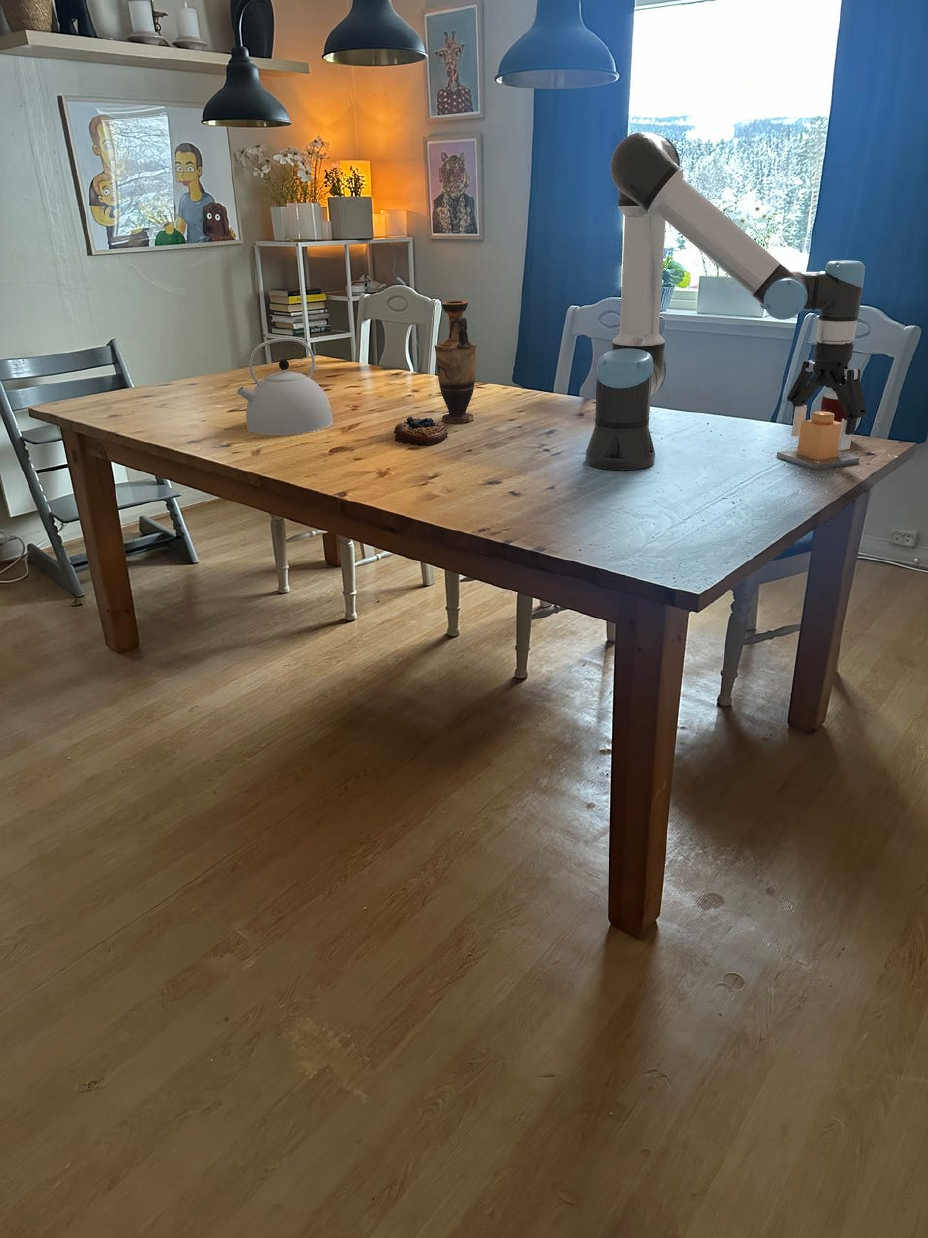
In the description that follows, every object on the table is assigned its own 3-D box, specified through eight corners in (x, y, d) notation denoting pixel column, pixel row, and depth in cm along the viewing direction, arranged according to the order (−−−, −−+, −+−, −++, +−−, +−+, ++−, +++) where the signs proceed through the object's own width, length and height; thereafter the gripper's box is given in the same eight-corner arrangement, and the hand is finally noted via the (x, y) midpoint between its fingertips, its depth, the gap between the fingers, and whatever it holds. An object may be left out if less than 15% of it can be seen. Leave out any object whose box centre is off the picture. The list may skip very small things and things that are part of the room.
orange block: (817, 459, 192) (823, 418, 188) (796, 453, 197) (802, 412, 193) (838, 456, 194) (844, 414, 190) (817, 449, 199) (823, 409, 195)
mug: (832, 446, 206) (839, 402, 202) (802, 439, 212) (808, 397, 208) (859, 438, 212) (866, 396, 207) (829, 432, 218) (836, 391, 213)
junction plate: (816, 470, 189) (820, 439, 186) (776, 457, 199) (780, 427, 196) (858, 463, 193) (863, 432, 191) (817, 450, 203) (822, 421, 200)
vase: (431, 418, 242) (427, 301, 229) (469, 414, 245) (466, 298, 232) (445, 426, 233) (441, 305, 220) (484, 422, 236) (482, 302, 223)
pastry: (415, 433, 228) (414, 410, 226) (454, 438, 223) (453, 414, 220) (389, 442, 220) (387, 419, 218) (429, 448, 214) (428, 424, 212)
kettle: (257, 441, 224) (246, 348, 214) (226, 425, 241) (214, 338, 231) (347, 426, 236) (340, 338, 226) (311, 412, 253) (303, 329, 243)
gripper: (897, 347, 176) (878, 452, 186) (804, 332, 197) (792, 428, 206) (868, 350, 174) (850, 457, 183) (778, 335, 194) (766, 431, 203)
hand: (819, 442), depth 194 cm, fingers open, 13 cm apart
